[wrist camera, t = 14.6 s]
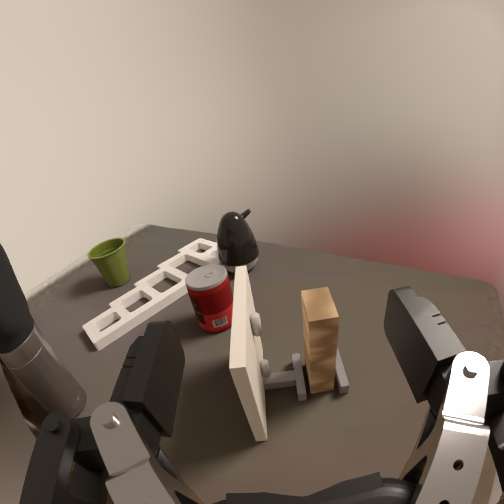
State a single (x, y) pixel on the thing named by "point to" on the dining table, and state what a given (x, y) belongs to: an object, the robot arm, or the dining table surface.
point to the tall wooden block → (320, 338)
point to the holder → (149, 294)
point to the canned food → (211, 297)
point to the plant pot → (111, 261)
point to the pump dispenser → (236, 242)
